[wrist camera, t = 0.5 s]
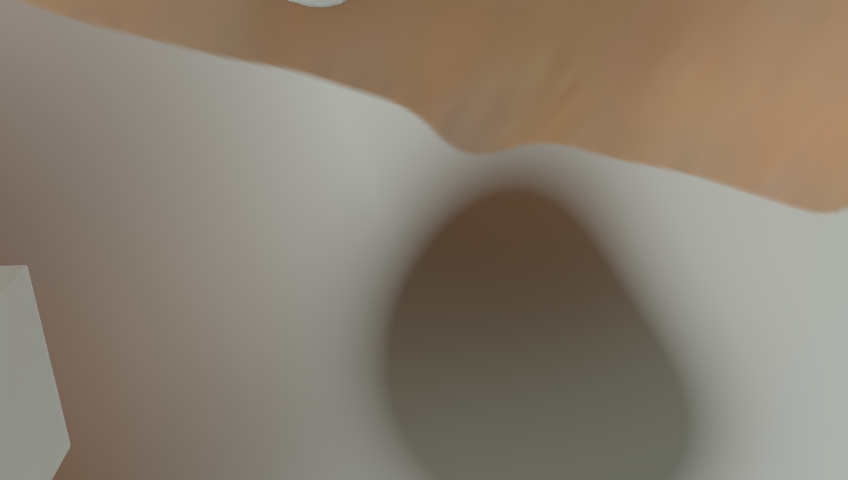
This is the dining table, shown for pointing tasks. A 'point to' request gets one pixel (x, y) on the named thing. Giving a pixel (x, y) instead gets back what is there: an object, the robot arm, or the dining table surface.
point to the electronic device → (318, 2)
